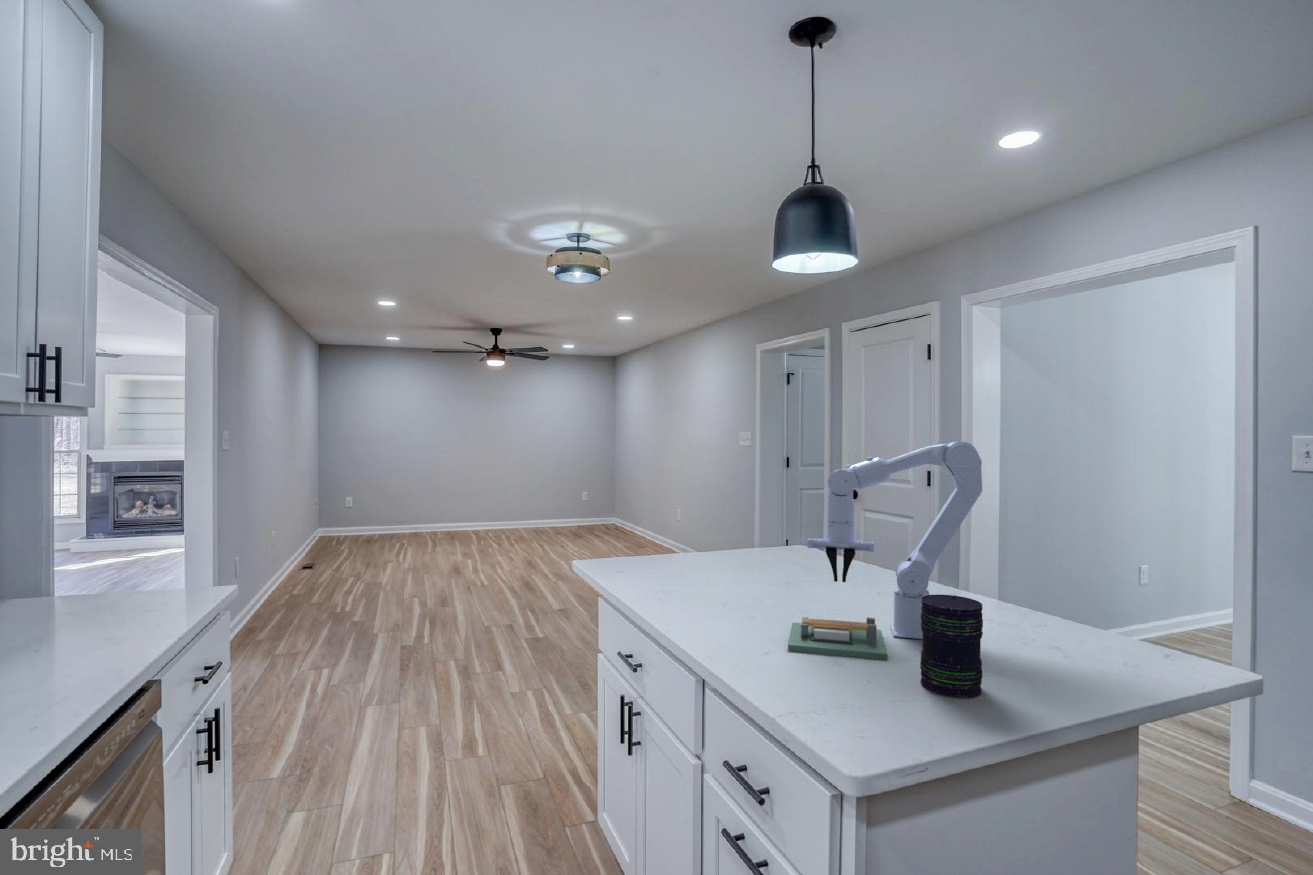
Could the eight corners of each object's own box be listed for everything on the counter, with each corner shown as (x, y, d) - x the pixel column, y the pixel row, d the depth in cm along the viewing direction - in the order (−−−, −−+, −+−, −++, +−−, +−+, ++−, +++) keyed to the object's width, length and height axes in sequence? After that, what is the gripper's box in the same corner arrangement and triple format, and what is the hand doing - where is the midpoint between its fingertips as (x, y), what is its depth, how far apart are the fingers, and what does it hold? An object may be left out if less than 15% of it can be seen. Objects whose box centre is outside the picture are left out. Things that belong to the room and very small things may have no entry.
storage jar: (979, 703, 104) (980, 612, 104) (915, 690, 109) (916, 603, 109) (984, 683, 112) (985, 599, 112) (925, 672, 117) (925, 591, 117)
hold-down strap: (873, 630, 133) (874, 622, 133) (874, 635, 130) (874, 626, 130) (802, 625, 137) (802, 617, 137) (802, 629, 134) (802, 621, 134)
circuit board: (881, 635, 139) (881, 612, 139) (887, 660, 124) (887, 634, 124) (792, 627, 144) (792, 605, 144) (787, 650, 129) (788, 626, 129)
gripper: (807, 522, 143) (806, 582, 143) (875, 525, 139) (874, 587, 139) (808, 518, 150) (807, 575, 150) (873, 521, 146) (872, 580, 146)
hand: (839, 581), depth 145 cm, fingers closed
